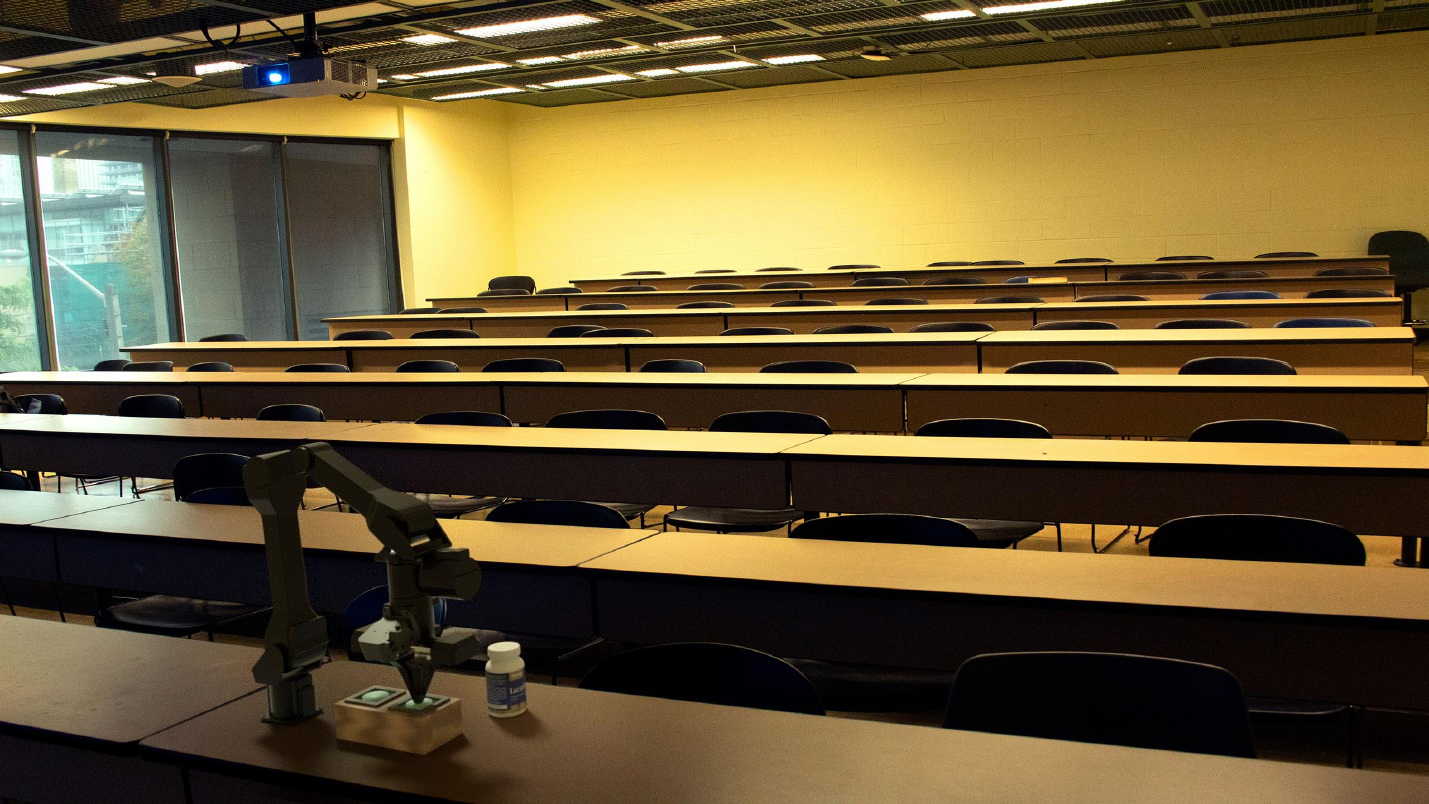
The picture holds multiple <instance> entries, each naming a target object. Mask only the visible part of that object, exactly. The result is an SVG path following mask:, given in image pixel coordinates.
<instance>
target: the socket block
mask: <svg viewBox="0 0 1429 804" xmlns="http://www.w3.org/2000/svg"><path fill="white" fill-rule="evenodd" d="M374 691H386V692H388V693H389V696H388V697H386V698H384V699H382V700H380V701H378V702H371V701H365V700H363V699H362V697H363V695H365V694H367V693H370V692H374ZM425 698H429V699H431V700H432V704H431V705H429V706H427V707H425V708H423V709H421V710H418V709H412V708H406V703H407V702H408V701H410V700H412V698H411V695H410V693H409V691H408V689H401V688H395V687H390V686H384V685H379V684H378V685H376V684H375V685H371V686H369V687H367V688H365V689H363V690H360V691H358V692H356V693H355V694H352V695H350V696H348V697H346V698H344V699H341V700H339V701H338V702H335V703H333V709H334V710H333V711H334V721H335V731H336V739H340V740H345V741H349V742H355V743H360V744H364V745H365V744H366V745H371V746H376V747H380V748H386V749H391V750H396V751H402V752H406V753H407V752H408V753H412V754H417V755H421V756H425V755H427V754H429V753H431V752H433V751H434V750H436V749H438V748H440V747H441V746H443V745H444V744H447V743H448V742H450V741H452V740H453V739H456V738H457V737H459V736H460V735H462V734H464V728H463V715H462V699H461V698H458V697H451V696H445V695H439V694H433V693H428V692H427V693H426V696H425Z"/></svg>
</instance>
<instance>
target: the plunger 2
mask: <svg viewBox="0 0 1429 804" xmlns="http://www.w3.org/2000/svg"><path fill="white" fill-rule="evenodd" d="M431 704H432V700H431V699H429V698H425V699H424V701H423V702H422V703H420V704H417V703H414V702H413V700H410V701H408V702H407V703H406V708H412V709H418V710H421V709H423V708H425V707H427V706H429V705H431Z"/></svg>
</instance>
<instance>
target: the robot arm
mask: <svg viewBox="0 0 1429 804" xmlns="http://www.w3.org/2000/svg"><path fill="white" fill-rule="evenodd" d="M241 472H242V481H243V486H244V490H245V492H246V493H245V494H246V497H247V500H248V501H249V502H250V504H251V505H252V507H254V508H255V510H256V511H257V512H258V513H259V514H260V517H261V524H262V531H263V539H264V541H263V542H264V547H265V557H266V563H267V570H268V579H269V587H270V588H269V590H270V595H271V602H272V603H271V604H272V615H271V616H270V619H269V622H268V624H267V627H266V629H265V632H264V652H263V653H262V655H261V656H260V657H259V659H258V660H257V661H256V662H255V663H254V665H253V666H252V668H251V673H252V675H253V678H254V682H255V683H256V684H260V685H261V684H262V685H266V695H267V707H268V712H267V713H264V714H262V715H261V716H260V720H262V721H265V722H266V721H267V722H272V723H277V724H283V725H288V726H291V725H295V724H297V723H299V722H301V721H303V720H305V719H307V718H310V717H312V716H314V715H316V714H318V713H320V712H322V711H324V706H321V705H317V702H316V690H315V684H314V683H313V674H312V673H310V672H313V671H315V670H316V671H317V670H319V669H321V668H322V666H323V661H324V656H325V654H326V653H327V650H328V643H330V642H331V641H330V638H329V635H328V632H327V631H328V630H327V619H326V617H325V616H324V615H320V616H319V615H318V614H317V613H316V612H315V611H314V610H313V609H312V607H311V605H310V602H309V594H308V587H307V586H308V585H307V579H306V570H305V563H304V555H303V554H304V553H303V545H302V539H301V530H300V521H299V511H298V510H299V507H300V506H301V503H302V501H303V499H304V498H303V497H304V496H305V494H306V491H307V490H306V489H307V477H308V476H309V477H310V478H312V479H313V480H314V481H315V482H317V483H318V484H319V485H320V486H322V487H323V488H325V489H326V490H328V491H329V492H330V493H331V494H333V495H334V496H336V497H337V498H339V499H340V500H341V501H342V502H344V503H345V504H346V505H348V506H349V507H350V508H352V509H354V510H355V511H356V512H357V513H359V514H360V515H361V516H362V517H363V518H364V520H365V523H366V526H367V529H368V531H369V532H370V533H371V534H372V535H373V536H374V537H375V538H376V540H378V542H380V544H382V545H383V546H382V548H381V550H379V551H378V552H377V553H376V554H375V555H374V557H373V558H374V561H376V562H383V563H384V562H385V563H386V565H387V567H386V568H387V580H388V583H387V584H388V593H389V602H387V603H383V607H382V610H381V611H382V612H381V613H382V615H381V619H380V620H377V621H375V622H373V623H371V624H368V625H365V626H362V627H360V628H357V629H355V630H354V631H353V633H352V635H351V637H350V650H351V652H353V653H360V654H363V656H364V659H365V660H366V661H369V662H371V661H375V662H380V663H381V664H382V663H383V664H387V663H389V664H391V665H392V666H394V667H395V668H396V669H397V671H398V672H399V674H400V676H401V677H402V679H403V682H404V684H405V686H406V690H408V691H409V693H410V695H411V698H412V700H413V702H414V703H417V704H420V703H422V702H423V701H424V699H425V696H426V693H428V690H429V688H430V685H431V684H432V683H431V682H432V680H433V678H434V674H435V673H436V670H437V669H438V667H439V665H441V666H442V665H443V666H448V667H450V666H457V665H459V664H461V663H464V662H466V661H467V660H469V659H470V660H471V658H474V657H475V656H477V655H480V654H481V643H480V638H479V637H478V636H477V635H476V634H475V633H469V632H459V631H453V632H451V633H449V634H447V635H444V636H442V637H436V635H438V634H440V633H442V625H441V624H436V623H435V613H434V606H436V605H439V604H440V598H441V599H451V600H459V601H470V600H471V599H472V598H474V597H475V596H476V594H477V593H478V591H479V589H480V587H481V583H482V569H481V568H480V566H479V563H478V562H477V560H475V558H474V557H471V554H470V549H469V548H468V547H467V548H466V547H459V548H453V543H452V541H451V539H450V538H449V536H448V534H447V533H446V532H445V530H444V528H443V527H442V525H441V523H439V521H438V519H437V518H436V516H435V514H434V510H433V508H432V507H431V505H430V504H428V502H426V501H424V500H422V499H420V498H418V497H416V496H413V495H412V494H410V493H405V492H400V491H396V490H393V489H390V488H387V487H386V486H384V485H382V484H381V483H380V482H379V481H377V480H376V479H374V478H373V477H372V476H370V475H369V474H367V473H366V472H365V471H364V470H361V468H359V467H358V466H356V465H355V464H353V463H352V462H350V461H349V460H347V458H345V457H344V456H342V455H341V454H339V453H338V452H337V451H336V450H335V449H334V446H332V445H331V444H329V443H328V442H324V441H318V442H313V443H307V444H301V445H300V446H298V447H297V448H294V449H292V450H290V449H285V450H281V451H275V452H271V453H265V454H260V455H255V456H251V457H250V458H249V459H248V460H247V461H246V463H245V464H244V465H243V467H242V471H241ZM425 540H427V541H425ZM422 541H425V542H422ZM421 542H422V543H421ZM416 543H418V544H416ZM413 544H415V545H413Z"/></svg>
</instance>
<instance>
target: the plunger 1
mask: <svg viewBox="0 0 1429 804" xmlns="http://www.w3.org/2000/svg"><path fill="white" fill-rule="evenodd" d="M388 696H389V693H388V692H386V691H374V692H370V693H367V694H365V695H363V697H362V699H363V700H365V701H371V702H378V701H380V700H382V699H384V698H386V697H388Z"/></svg>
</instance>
